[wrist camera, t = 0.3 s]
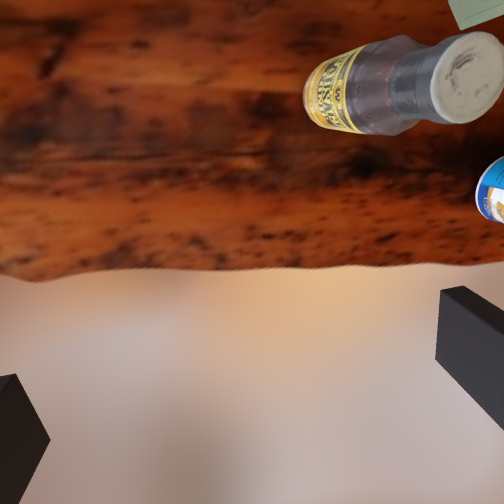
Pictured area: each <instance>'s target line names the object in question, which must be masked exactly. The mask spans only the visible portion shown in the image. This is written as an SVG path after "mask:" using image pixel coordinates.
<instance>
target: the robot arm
mask: <svg viewBox="0 0 504 504" xmlns="http://www.w3.org/2000/svg"><path fill="white" fill-rule="evenodd" d="M437 331H438V332H437V343H436V356H435V359H436V360H437V362H438V363H439V364H440V365H441V366H442V367H443V368H444V369H445V370H446V371H447V372H448V373H449V374H450V375H451V376H452V377H453V378H454V379H455V380H456V381H457V382H458V384H459V385H460V386H461V387H462V388H463V389H464V390H465V391H466V392H467V393H468V394H469V395H470V396H471V397H472V398H473V399H474V400H475V401H476V402H477V403H478V404H479V405H480V406H481V407H482V408H483V409H484V410H485V412H486V413H487V414H488V415H489V416H490V417H491V418H492V419H493V420H494V421H495V422H496V423H497V424H498V425H499V426H500V427H501V428H502V429H503V430H504V311H503V310H501V309H500V308H498V307H496V306H495V305H493V304H492V303H490V302H488V301H487V300H486V299H484V298H482V297H481V296H479V295H478V294H476V293H474V292H473V291H471V290H470V289H468V288H466V287H465V286H459V287H453V288H448V289H443V290H441V291H440V304H439V317H438V330H437ZM49 442H50V438H49V436H48V434H47V432H46V430H45V428H44V426H43V424H42V422H41V421H40V419H39V417H38V415H37V413H36V411H35V409H34V407H33V405H32V404H31V402H30V400H29V398H28V396H27V394H26V392H25V390H24V388H23V386H22V385H21V383H20V381H19V379H18V377H17V375H16V374H11V375H6V376H0V504H19V502H20V500H21V498H22V496H23V494H24V492H25V490H26V488H27V486H28V484H29V482H30V480H31V478H32V476H33V474H34V472H35V470H36V468H37V466H38V464H39V462H40V460H41V458H42V456H43V454H44V452H45V450H46V448H47V446H48V444H49Z"/></svg>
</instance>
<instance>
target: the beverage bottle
mask: <svg viewBox="0 0 504 504" xmlns="http://www.w3.org/2000/svg"><path fill="white" fill-rule="evenodd" d="M475 197H476V204H477V207H478V209H479V211H480V212H481V214H482V215H483V216H485V217H486V218H488V219H490V220H492V221H495V222H499V223H504V156H503V157H501V158H499V159H498V160H496V161H495V162H493V163H492V164H491V165H490V166H489V167H488V168H487V169H486V170H485V172H484V173H483V175H482V176H481V178H480V180H479V182H478V185H477V188H476V196H475Z"/></svg>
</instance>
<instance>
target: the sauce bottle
mask: <svg viewBox="0 0 504 504" xmlns="http://www.w3.org/2000/svg"><path fill="white" fill-rule="evenodd" d="M503 88H504V46H503V45H502V44H501V43H500V42H499V40H498V39H497V38H496V37H495V36H493V35H492V34H490V33H487V32H483V31H471V32H469V33H463V34H459V35H453V36H451V37H448V38H446V39H444V40H443V41H441V42H440V43H438V44H437V45H436V46H432V47H430V46H429V45H424V44H421V43H417V42H415V41H414V40H412V39H411V38H410V37H409V36H407V35H398V36H395V37H392V38H389V39H386V40H383V41H377V42H373V43H370V44H367V45H365V46H362V47H359V48H357V49H354V50H352V51H350V52H347V53H345V54H342V55H339V56H337V57H334V58H332V59H329V60H327V61H325V62H323V63H322V64H320V65H319V66H318V67H317V68H316V69H315V70H314V71H313V72H312V73H310V75H309V77H308V79H307V81H306V84H305V86H304V90H303V99H302V100H303V104H304V107H305V110H306V112H307V114H308V116H309V118H310V119H311V120H312V121H314V122H315V123H316V124H318V125H319V126H321V127H324V128H328V129H335V130H341V131H347V132H354V133H361V134H374V135H391V136H395V135H397V134H399V133H401V132H403V131H405V130H407V129H409V128H411V127H413V126H414V125H416V124H417V123H418V122H419V121H421V120H423V119H425V120H431V121H433V122H436V123H440V124H463V123H467V122H471V121H473V120H475V119H477V118H478V117H480V116H482V115H483V114H484V113H485V112H486V111H487V110H488V109H490V108H491V107H492V106H493V105H494V103H495V102H496V100H497V99H498V98H499V96H500V94H501V92H502V90H503Z"/></svg>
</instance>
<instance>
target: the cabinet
mask: <svg viewBox="0 0 504 504" xmlns="http://www.w3.org/2000/svg"><path fill="white" fill-rule="evenodd" d="M447 1H448V3H449V5H450V8H451V10H452V12H453V15H454V17H455V19H456V22H457V24H458V26H459V29H460V30H463V29H466V28H469V27H472V26H474V25H477V24H480V23H482V22H485V21H488V20H490V19H493V18H496V17H498V16H501V15H504V0H447Z"/></svg>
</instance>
